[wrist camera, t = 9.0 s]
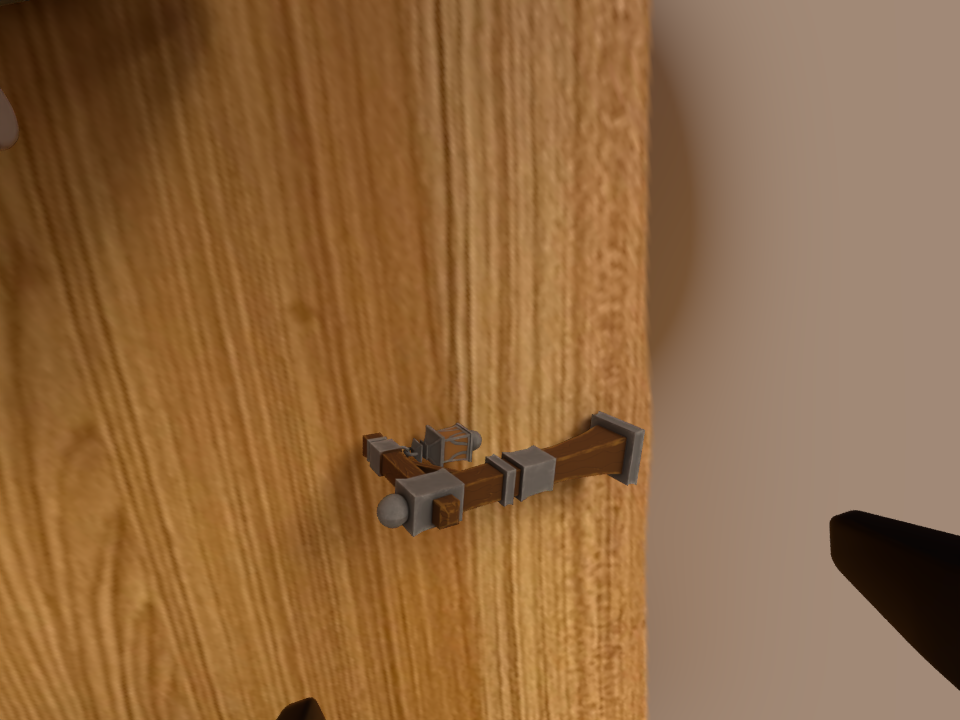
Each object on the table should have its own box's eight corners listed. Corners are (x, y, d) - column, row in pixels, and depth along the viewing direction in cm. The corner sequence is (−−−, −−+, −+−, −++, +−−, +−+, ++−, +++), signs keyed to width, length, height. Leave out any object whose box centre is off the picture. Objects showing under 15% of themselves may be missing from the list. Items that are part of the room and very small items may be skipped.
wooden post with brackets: (331, 420, 12) (393, 495, 9) (548, 390, 17) (651, 431, 13) (332, 479, 13) (391, 575, 9) (543, 435, 17) (642, 488, 13)
